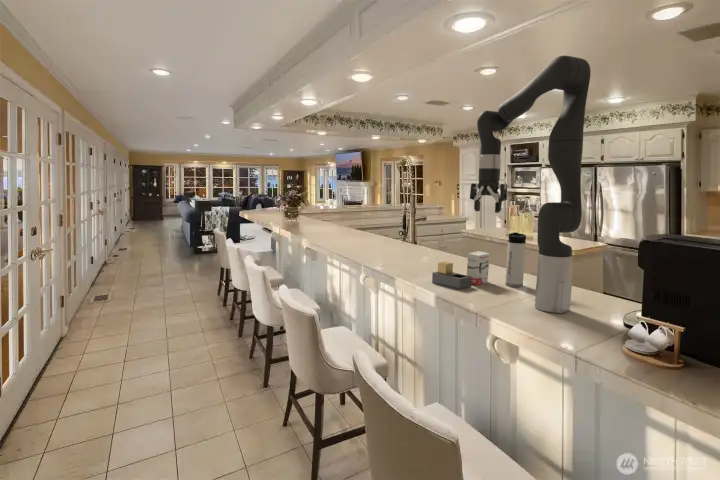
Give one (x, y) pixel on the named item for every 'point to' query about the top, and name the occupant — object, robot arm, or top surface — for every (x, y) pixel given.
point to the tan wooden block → (445, 268)
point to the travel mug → (515, 260)
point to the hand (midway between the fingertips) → (487, 211)
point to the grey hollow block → (452, 280)
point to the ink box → (478, 267)
